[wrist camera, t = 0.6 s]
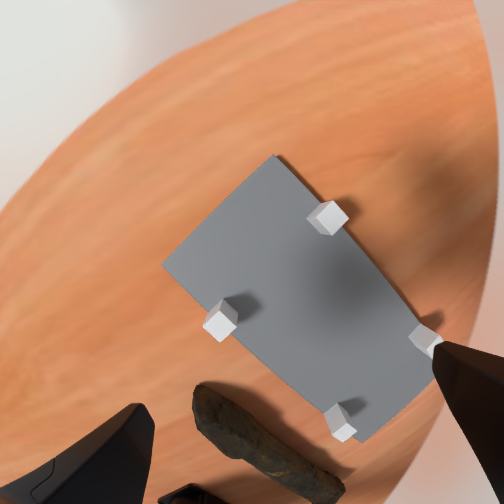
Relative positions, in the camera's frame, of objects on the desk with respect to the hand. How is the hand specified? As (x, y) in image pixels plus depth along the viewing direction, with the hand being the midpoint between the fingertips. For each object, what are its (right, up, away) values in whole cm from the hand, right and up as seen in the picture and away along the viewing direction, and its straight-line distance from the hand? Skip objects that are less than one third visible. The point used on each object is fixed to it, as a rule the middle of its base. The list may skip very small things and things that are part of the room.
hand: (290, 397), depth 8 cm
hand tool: (0, -14, +16) cm, 21 cm away
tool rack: (+5, -1, +15) cm, 15 cm away
